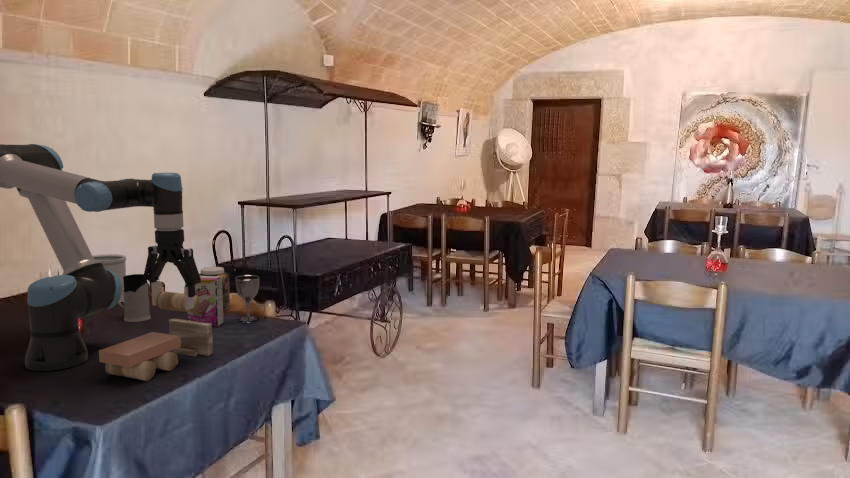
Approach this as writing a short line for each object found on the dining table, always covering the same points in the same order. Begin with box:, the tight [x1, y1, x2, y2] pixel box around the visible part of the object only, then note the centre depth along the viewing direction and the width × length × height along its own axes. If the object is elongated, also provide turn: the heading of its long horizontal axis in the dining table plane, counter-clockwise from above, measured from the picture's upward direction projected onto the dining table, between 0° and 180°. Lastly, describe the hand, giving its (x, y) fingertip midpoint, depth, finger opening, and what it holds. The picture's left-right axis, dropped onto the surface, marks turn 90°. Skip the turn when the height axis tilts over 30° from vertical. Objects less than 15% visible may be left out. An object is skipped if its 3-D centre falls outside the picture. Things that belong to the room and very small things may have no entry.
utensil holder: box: [92, 253, 127, 304], centre depth 242 cm, size 15×15×18 cm
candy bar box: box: [184, 276, 224, 327], centre depth 214 cm, size 11×5×16 cm, turn 84°
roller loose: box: [156, 290, 200, 313], centre depth 181 cm, size 5×11×5 cm
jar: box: [199, 266, 231, 312], centre depth 235 cm, size 12×12×15 cm
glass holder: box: [117, 273, 152, 323], centre depth 221 cm, size 9×14×15 cm, turn 81°
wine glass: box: [234, 274, 260, 321], centre depth 221 cm, size 8×8×15 cm
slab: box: [98, 331, 181, 367], centre depth 169 cm, size 18×10×3 cm, turn 159°
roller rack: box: [104, 317, 214, 382], centre depth 176 cm, size 26×14×9 cm, turn 159°
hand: (173, 306), depth 179 cm, fingers closed on roller loose, 11 cm apart
